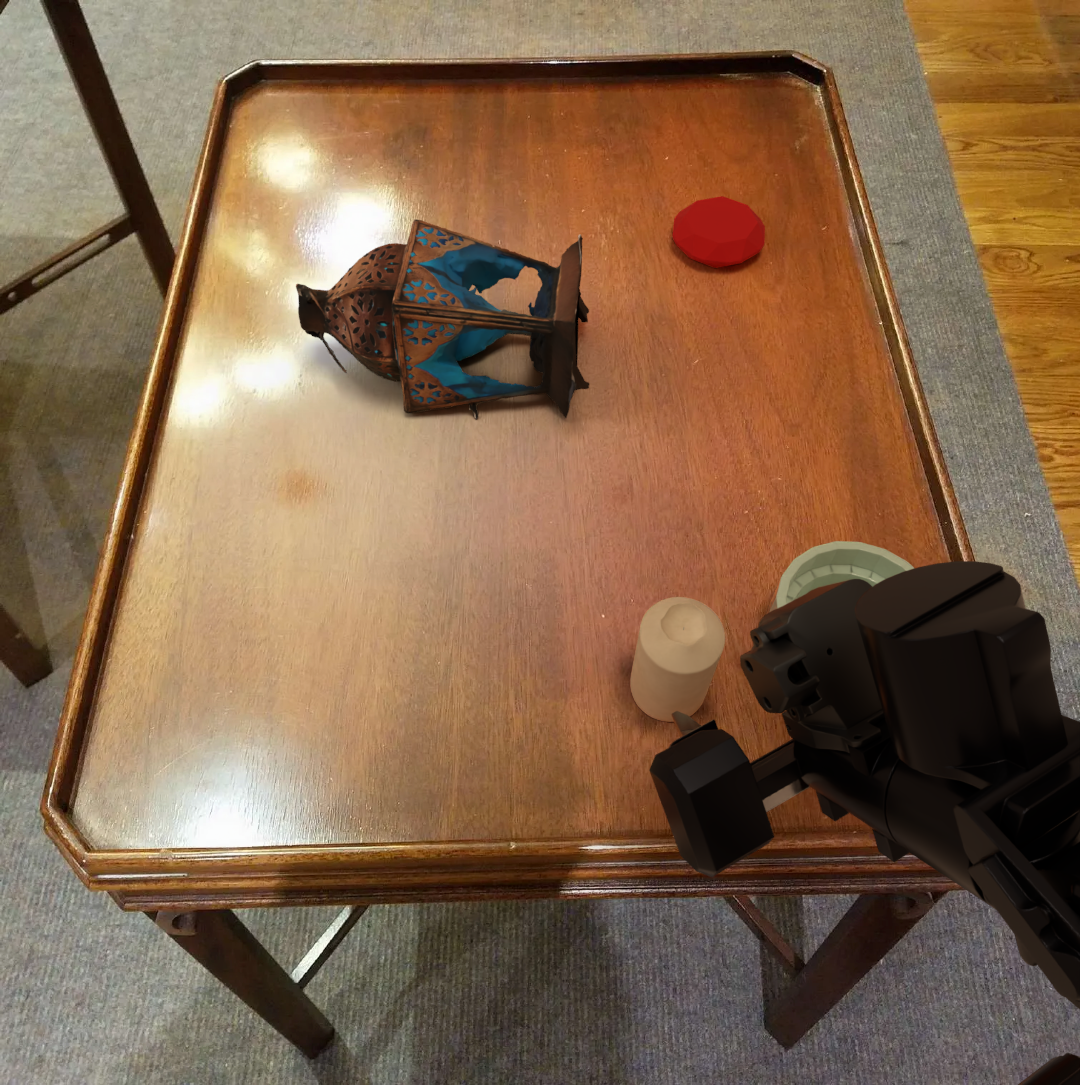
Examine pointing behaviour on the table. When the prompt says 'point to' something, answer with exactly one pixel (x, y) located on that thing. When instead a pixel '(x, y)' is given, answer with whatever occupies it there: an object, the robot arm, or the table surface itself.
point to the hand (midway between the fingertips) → (742, 683)
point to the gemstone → (718, 232)
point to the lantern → (449, 318)
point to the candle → (676, 657)
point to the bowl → (835, 569)
